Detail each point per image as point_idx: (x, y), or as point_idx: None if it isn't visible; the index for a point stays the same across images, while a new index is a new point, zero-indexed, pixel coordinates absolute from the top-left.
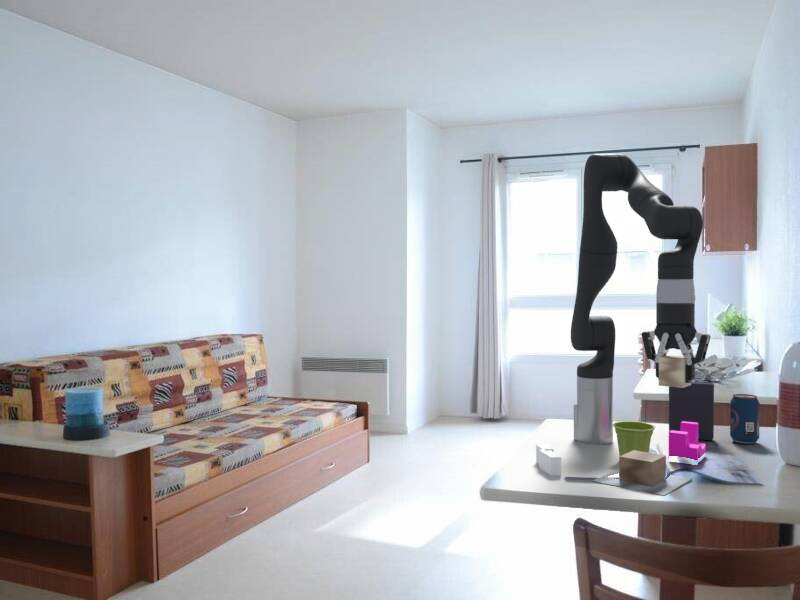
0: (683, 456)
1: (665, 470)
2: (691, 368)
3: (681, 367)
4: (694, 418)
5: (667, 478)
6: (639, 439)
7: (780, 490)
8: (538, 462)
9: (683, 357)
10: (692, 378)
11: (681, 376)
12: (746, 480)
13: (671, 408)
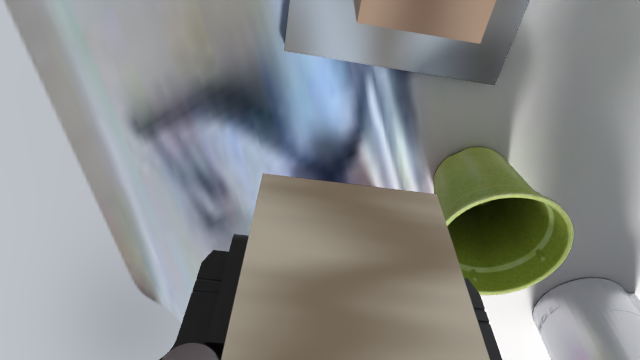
0: None
1: (355, 3)
2: (189, 327)
3: (251, 290)
4: None
5: (349, 11)
6: (470, 190)
7: (79, 100)
8: None
9: None
10: (202, 263)
11: (263, 230)
12: (176, 146)
13: None
